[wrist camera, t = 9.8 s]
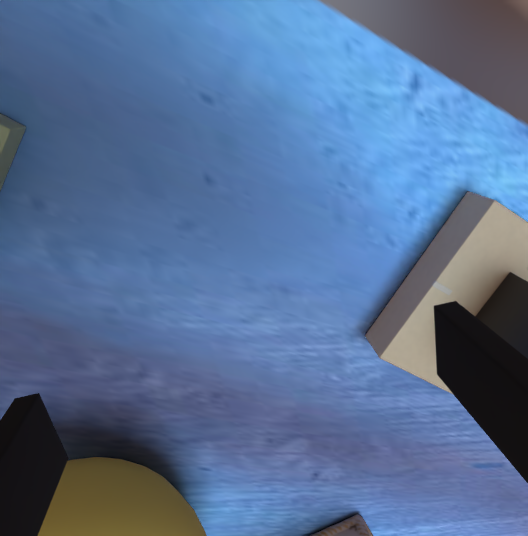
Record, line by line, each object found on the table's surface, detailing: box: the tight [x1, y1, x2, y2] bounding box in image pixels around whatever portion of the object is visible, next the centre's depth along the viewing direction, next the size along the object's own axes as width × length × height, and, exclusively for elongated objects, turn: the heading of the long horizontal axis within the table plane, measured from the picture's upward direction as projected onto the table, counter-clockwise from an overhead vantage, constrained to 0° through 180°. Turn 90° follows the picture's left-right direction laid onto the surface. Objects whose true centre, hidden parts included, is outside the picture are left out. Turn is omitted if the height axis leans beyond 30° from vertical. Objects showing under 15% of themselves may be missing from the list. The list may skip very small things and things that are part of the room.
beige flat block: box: [365, 191, 528, 394], centre depth 30 cm, size 12×10×3 cm
